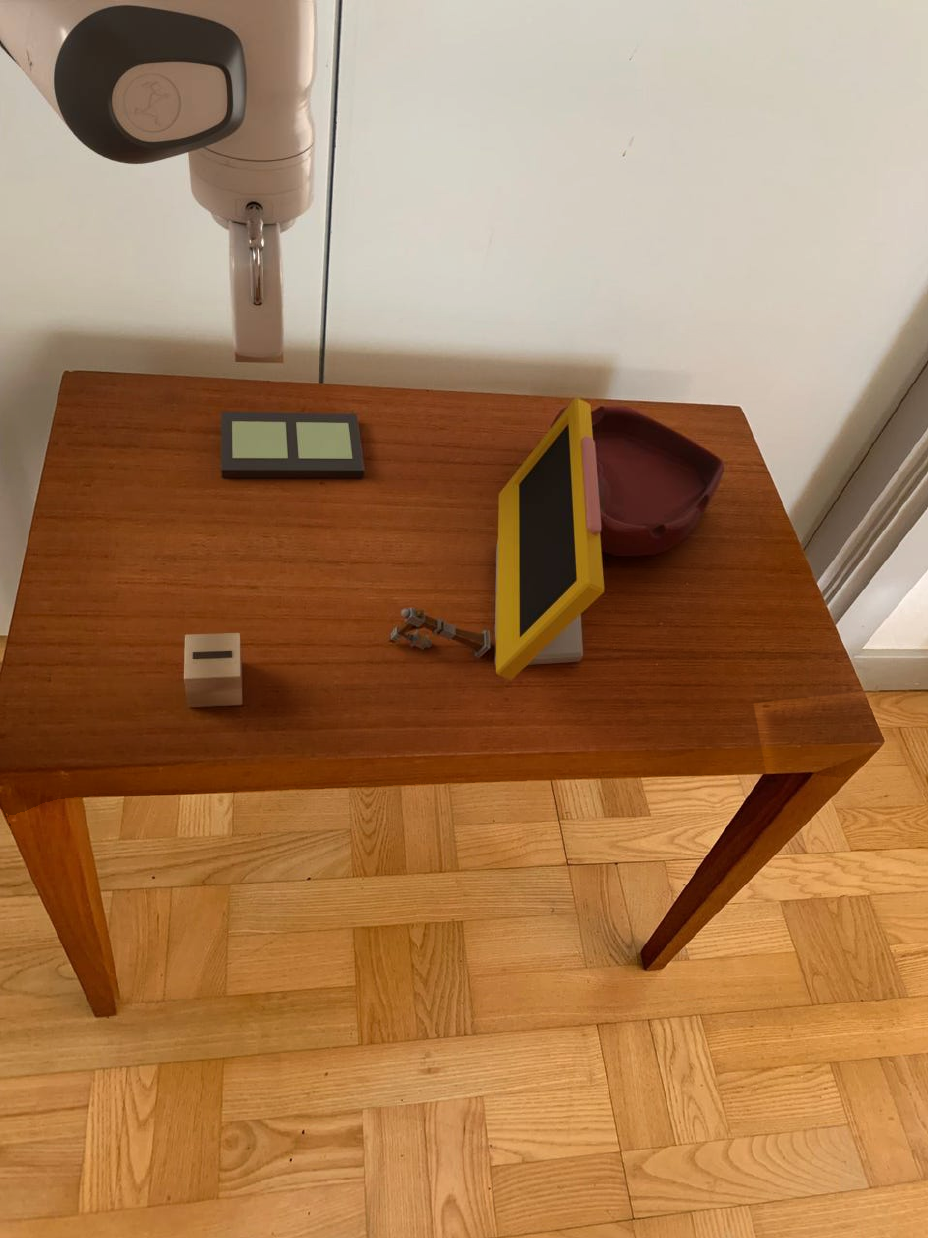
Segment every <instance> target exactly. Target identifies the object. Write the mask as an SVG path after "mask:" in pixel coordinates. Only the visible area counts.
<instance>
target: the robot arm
mask: <svg viewBox="0 0 928 1238" xmlns="http://www.w3.org/2000/svg"><path fill="white" fill-rule="evenodd" d="M317 4H318V3H317V0H0V48H1V49H2V51H4V52H5V53H6V55H8V56H9V57H10V58H11V59H12V60H13V61H14V62H15V64H16V65H18V67H19V68H21V70H22V71H23V72H24V74H25V75H26V76H27V78H28V79H29V81H31V83H32V84H33V85H34V86H35V88H36V89H37V90H38V92H39V93H40V94H41V95H42V97H43V98H44V99H45V101H46V102H47V103H48V104H49V105H50V107H51V109H52V110H54V112H55V113H56V114H57V116H58V117H59V118H60V119H61V121H62V122H63V123H64V124H65V126H66V127H67V128H68V129H69V130H70V132H71V133H72V134H73V135H74V136H75V137H76V138H77V140H78V141H80V143H82V144H83V145H84V146H85V147H87V149H89V150H91V151H92V152H94V153H95V154H97V155H99V156H101V157H103V158H105V159H107V160H110V161H113V162H117V163H121V164H128V165H143V164H144V165H145V164H149V163H151V164H152V163H156V162H159V161H162V160H167V159H170V158H174V157H178V156H180V155H185V154H187V156H188V169H189V180H190V181H189V183H190V190H191V193H192V197H193V198H194V199H195V201H196V202H197V203H198V204H199V205H200V206H201V207H202V208H204V210H206V211H208V212H209V213H210V215H211V217H212V219H213V220H214V222H216V223H217V224H218V225H219V226H220V227H222V228H223V229H225V230H227V231H228V263H229V264H228V269H229V271H228V272H229V292H230V311H231V312H230V313H231V331H232V344H233V349H234V352H235V351H236V353H237V354H238V355H240V356H249V357H255V358H266V357H278V356H280V355H281V354H282V352H283V348H284V349H285V303H284V302H285V301H284V299H285V296H284V262H283V249H282V248H283V247H282V233H284V232H286V231H288V230H289V229H290V228H292V227H293V226H294V225H295V223H296V222H297V219H298V218H299V217H300V216H302V215H303V214H305V213H306V212H307V211H309V209H310V208H311V207H312V205H313V203H314V201H315V172H316V171H315V170H316V167H315V166H316V165H315V164H316V163H315V162H316V124H315V119H314V116H313V111H312V106H311V97H312V90H313V86H314V83H315V80H316V76H317V71H318V7H317V6H318V5H317Z"/></svg>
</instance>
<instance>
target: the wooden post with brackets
mask: <svg viewBox="0 0 928 1238" xmlns="http://www.w3.org/2000/svg"><path fill="white" fill-rule="evenodd" d="M400 616H401V617H402V618H404V621H403V622H402V623H401V624H400V625H399V626H398V625H397V626H396V627H394V629H393V630H392V632H390V634H389V635H388V642H389V643H392V644H395V643H396V642H398V641H400V640H401V639H402V638H405V639H406V642H408V641H409V642H410V648H413V646H415V647H417V648H418V649H421V651H423V650H424V649H425V648H431V646H432V645H433V642H432V641H431V640H429V635H428V634H427V635H424V634H420V633H419V629H421V630H422V629H426V630H428V631H431V634H433V635H434V636H436V635H437V637H441V638H443V639H445V640H448V641H451V640H453V641H455V642H457V643H459V644H461V645H463V646H464V647H467V648H468V649H470V650H472V651H474V657H476V658H477V659H479V658H481V657H482V656H483V655H484V654H485V653H486V652H487V651H488V650H490V649H491V635H490V633H491V631H490V629H489V630H487V629H484V630H483V631H482V632H474V631H469V630H465V629H461V628H458V627H456V624H452V623H450V622H447V621H445V620H442V619H441V618H439V617H438V618H437V619H436V618H433V617H432V616H429V615H426V612H425V610H423V609H421V608H418V609H417V608H416V607H414V606H411V607H410V608H403V609H402V610H401V612H400ZM411 631H414V633H411ZM408 632H409V633H408Z"/></svg>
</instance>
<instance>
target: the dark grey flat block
mask: <svg viewBox="0 0 928 1238" xmlns="http://www.w3.org/2000/svg"><path fill="white" fill-rule="evenodd" d="M220 413H221V416H220V420H221V421H220V422H221V423H220V427H221V428H220V429H221V431H220V432H221V433H220V434H221V440H220V441H221V442H220V443H221V444H220V445H221V447H220V449H221V450H220V454H221V455H220V456H221V458H220V459H221V460H220V462H221V464H220V465H221V466H220V467H221V469H220V470H221V478H222V479H364V477H365V463H364V457H363V448H362V442H361V441H362V440H361V433H360V426H359V418H358V413H334V412H333V413H331V412H330V413H329V412H328V413H327V412H274V411H273V412H269V411H221V412H220Z"/></svg>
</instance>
